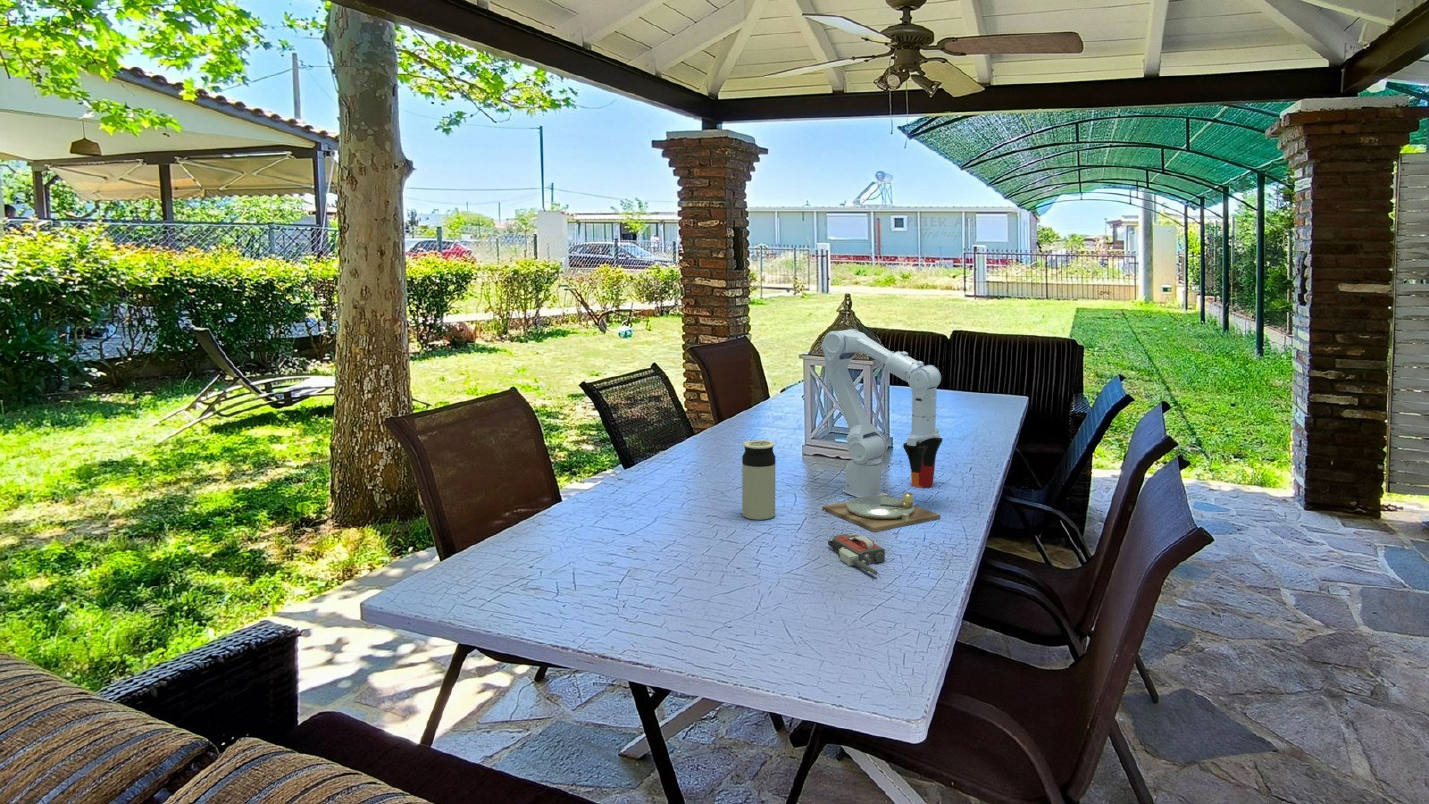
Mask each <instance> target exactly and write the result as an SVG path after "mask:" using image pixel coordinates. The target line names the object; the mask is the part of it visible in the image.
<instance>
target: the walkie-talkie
mask: <svg viewBox="0 0 1429 804" xmlns="http://www.w3.org/2000/svg"><path fill="white" fill-rule="evenodd" d="M827 543H828V546H829V547H831V549H832V550H833V551H834V552H835V553H837V554H838V555H839V559H840V561H842V562H843V563H845V564H847V566H849V567H853V566H856V567H859V568H860V569H862V570H864V571H866V572H870V573H871V574H873V575H875V576H877V575H878V573H879V572H878V571H877V570H876V569H874V568H873V567H870V566H869V564H875V563H882V562H885V561H886V559H885V557H886V556H885V555H886V549H884V548H883V547H882V546H879V545H878V544H876V543H875V542H874V541H873V540H872V539H870V538H868V537H867V536H865V535H859V534H857V533H853V532H851V533H844V534H838V535H834V536H833V537H832V540H828V541H827Z"/></svg>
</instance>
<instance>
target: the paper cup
mask: <svg viewBox="0 0 1429 804" xmlns="http://www.w3.org/2000/svg"><path fill="white" fill-rule="evenodd" d="M920 444H921V443H920ZM936 458H937V456H936V457H935V461H934V464H933V467H929V466H924V462H922V469H921V472H920V473H915V472H912V471H911V470H910V474H911V479H910V480H911V486H912V487H914V488H919V489H929V488H932V487H933V485H934V476H935V467H936Z"/></svg>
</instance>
